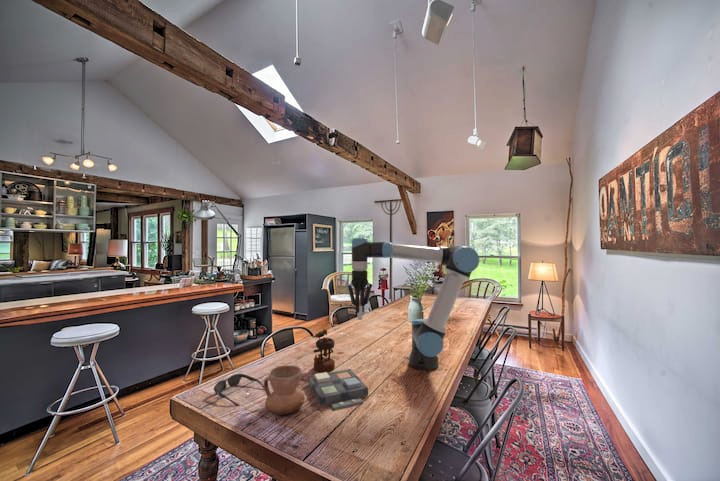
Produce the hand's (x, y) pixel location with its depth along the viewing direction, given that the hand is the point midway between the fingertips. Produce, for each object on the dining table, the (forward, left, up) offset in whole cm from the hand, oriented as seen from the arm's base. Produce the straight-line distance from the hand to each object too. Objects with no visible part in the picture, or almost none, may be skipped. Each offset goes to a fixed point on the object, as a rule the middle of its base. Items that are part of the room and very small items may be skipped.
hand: (359, 319), depth 143 cm
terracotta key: (+10, +5, -25) cm, 28 cm away
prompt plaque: (+15, +22, -26) cm, 38 cm away
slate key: (+10, +15, -24) cm, 30 cm away
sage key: (+20, +15, -25) cm, 35 cm away
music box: (+13, -14, -27) cm, 33 cm away
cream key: (+20, +5, -24) cm, 31 cm away
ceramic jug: (+38, +15, -27) cm, 49 cm away
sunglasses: (+53, -4, -27) cm, 60 cm away
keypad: (+15, +10, -26) cm, 32 cm away
